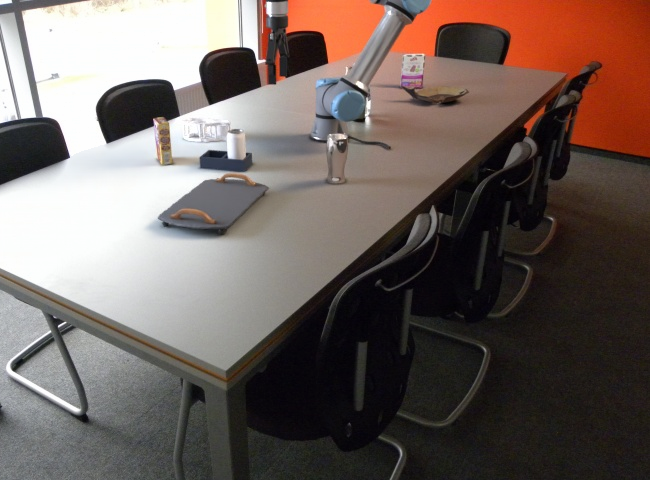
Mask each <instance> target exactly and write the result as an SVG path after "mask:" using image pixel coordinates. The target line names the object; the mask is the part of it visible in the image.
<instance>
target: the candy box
mask: <svg viewBox="0 0 650 480" xmlns="http://www.w3.org/2000/svg"><path fill="white" fill-rule="evenodd" d="M170 128H171V127H170V122H169V120H167V119H166V118H165V117H164V116H161V117H154V118H153V129H154V140H155V149H156V159H157V160H158V161H159V163H160V164H161V165H162V166H166V165H173V153H172V152H173V151H172V141H171V140H172V139H171V129H170Z"/></svg>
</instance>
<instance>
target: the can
mask: <svg viewBox="0 0 650 480" xmlns="http://www.w3.org/2000/svg"><path fill="white" fill-rule="evenodd" d="M246 148H247V147H246V135H245V132H244V129H241V128H232V129H230V130H229V131H228V134H227V141H226V149H227V150H226V151H228V159H239V160H243V159H244V158H245V157H246V153H247V151H246Z"/></svg>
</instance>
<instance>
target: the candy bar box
mask: <svg viewBox="0 0 650 480" xmlns="http://www.w3.org/2000/svg"><path fill="white" fill-rule="evenodd" d="M401 62H402V63H401V76H400V89H403V88H402V87H401V86H402V85H404V86H422V87H415V89H423V85H424V72H425V62H426V54H425V53H402V60H401ZM409 88H411V87H409Z"/></svg>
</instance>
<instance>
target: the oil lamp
mask: <svg viewBox="0 0 650 480" xmlns="http://www.w3.org/2000/svg"><path fill="white" fill-rule="evenodd" d="M401 87H402V88H401ZM400 88H401V89H403V90H404V91H405V92H406V93H407V94H409V96H410V97H412V98H413V99H415V100H423V101H426V102H428V103H434V104H440V103H441V104H444V103H445V104H446V103H450V102H453V101H456V100H457V99H460V98H462V97H464V96H465V95H467V94H469V93H470V91H469V89H466V88H462V87H458V86H433V87H427V88H422V89H419V90H418V91H416V88H415V87H411V88H409V87H406V86H404V85H402V86H401V85H400Z"/></svg>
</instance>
